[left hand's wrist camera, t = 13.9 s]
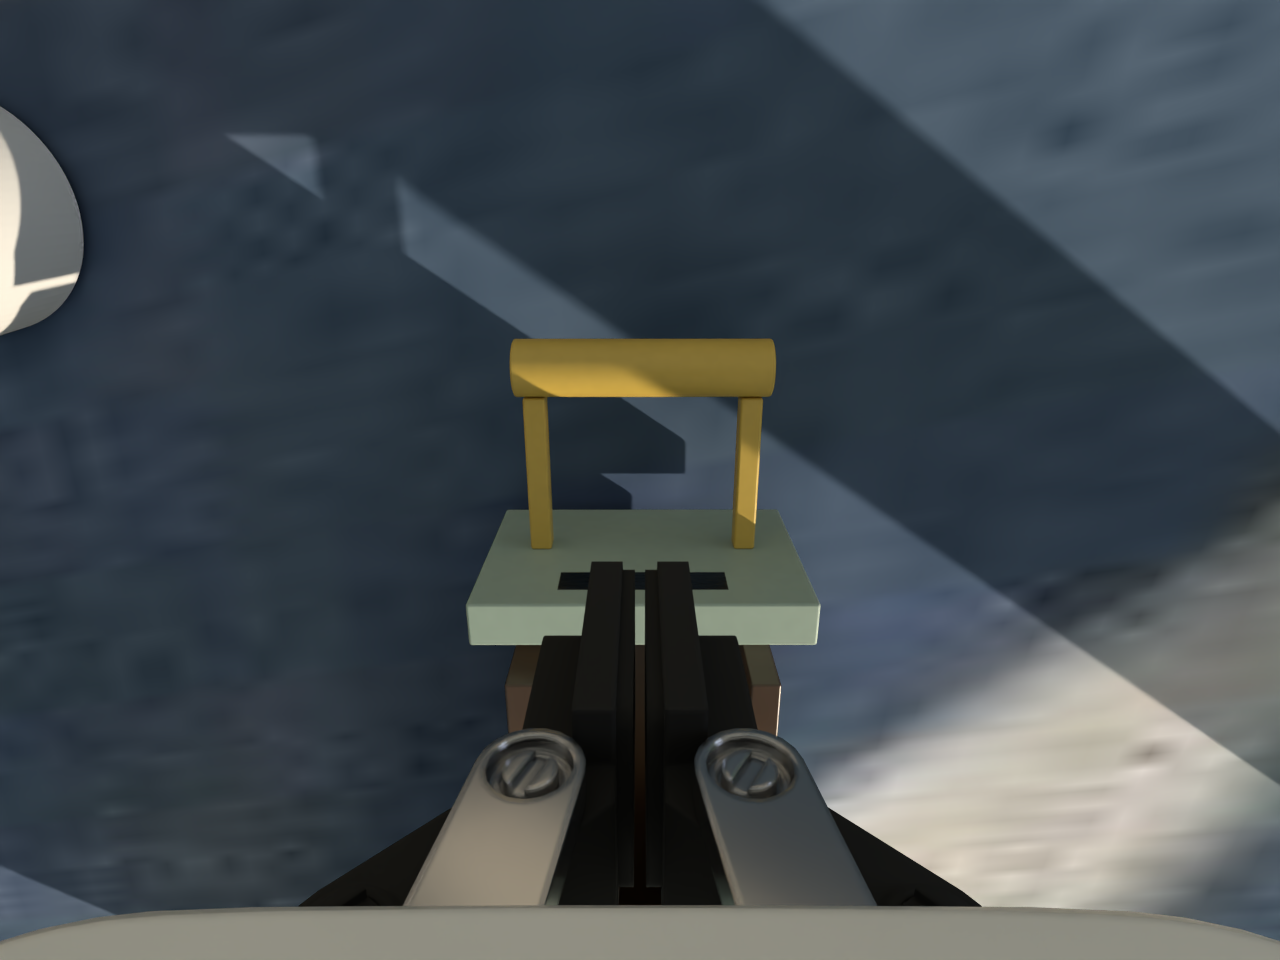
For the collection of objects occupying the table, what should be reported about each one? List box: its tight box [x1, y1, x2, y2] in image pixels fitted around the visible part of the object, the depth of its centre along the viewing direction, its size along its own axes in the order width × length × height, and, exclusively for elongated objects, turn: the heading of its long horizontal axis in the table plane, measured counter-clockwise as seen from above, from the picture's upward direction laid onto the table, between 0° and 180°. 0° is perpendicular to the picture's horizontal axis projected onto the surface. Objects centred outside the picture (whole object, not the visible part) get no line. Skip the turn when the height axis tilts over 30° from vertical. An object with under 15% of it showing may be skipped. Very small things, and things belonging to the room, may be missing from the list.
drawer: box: [466, 339, 820, 905], centre depth 23 cm, size 26×9×6 cm, turn 0°
